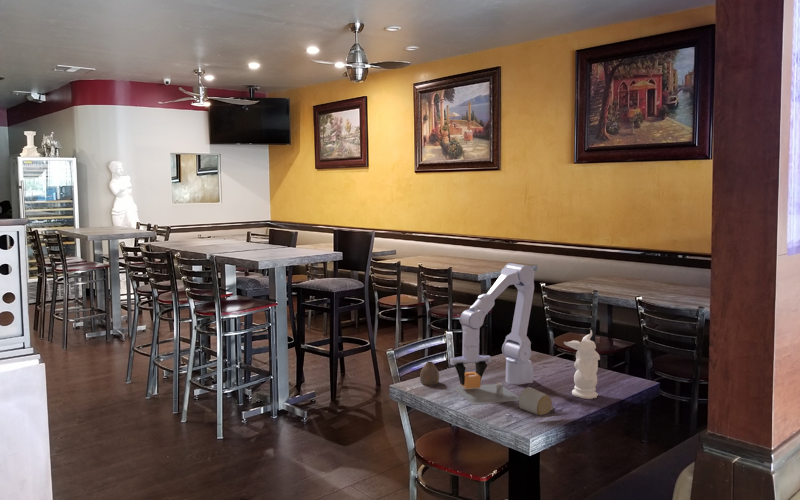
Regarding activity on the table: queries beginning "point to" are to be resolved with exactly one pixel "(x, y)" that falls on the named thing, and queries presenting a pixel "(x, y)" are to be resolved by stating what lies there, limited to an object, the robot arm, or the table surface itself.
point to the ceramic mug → (535, 401)
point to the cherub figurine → (585, 367)
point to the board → (485, 394)
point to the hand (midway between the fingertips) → (470, 383)
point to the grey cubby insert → (499, 390)
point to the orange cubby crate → (471, 380)
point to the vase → (429, 374)
